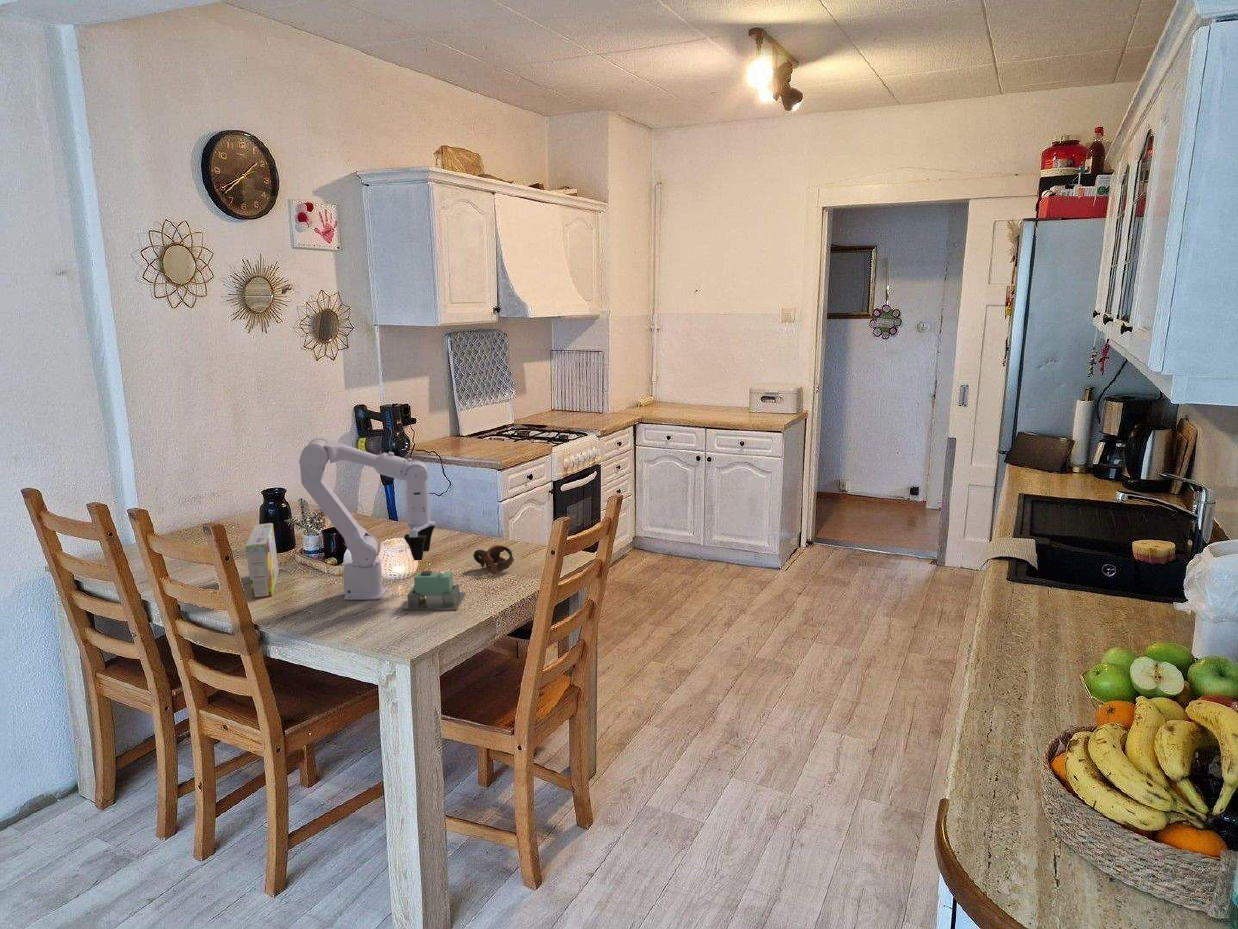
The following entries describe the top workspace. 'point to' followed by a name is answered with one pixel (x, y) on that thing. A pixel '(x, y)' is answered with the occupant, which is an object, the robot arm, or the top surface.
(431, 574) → the green knobbed block
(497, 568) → the dark brown curved piece
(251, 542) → the snack box
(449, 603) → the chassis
